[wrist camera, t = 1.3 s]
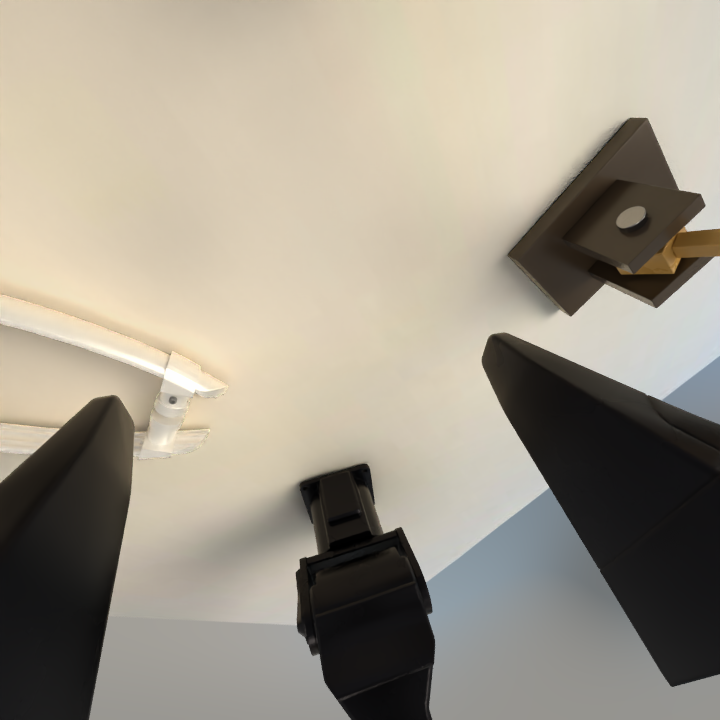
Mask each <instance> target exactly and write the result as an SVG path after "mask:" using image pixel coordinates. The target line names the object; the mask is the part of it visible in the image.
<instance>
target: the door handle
mask: <svg viewBox="0 0 720 720" xmlns="http://www.w3.org/2000/svg"><path fill="white" fill-rule="evenodd" d="M0 324H3V325H6V326H10V327H14V328H18V329H22V330H25V331H29V332H32V333H35V334H39V335H42V336H45V337H48V338H52V339H55V340H58V341H61V342H65V343H68V344H71V345H75V346H78V347H81V348H84V349H87V350H89V351H92V352H95V353H98V354H101V355H104V356H106V357H109V358H112V359H115V360H118V361H120V362H123V363H126V364H129V365H131V366H134V367H136V368H139V369H141V370H143V371H146V372H148V373H151V374H153V375H156V376H158V377H161V378H163V382H162V386H161V389H160V392H159V393H158V395H157V398H156V400H155V403H154V408H153V410H152V412H151V416H150V421H149V422H150V423H149V426H148V429H147V432H134V449H133V457H139V458H138V460H143V459H157V458H170V457H171V455H179V454H186V453H190V452H192V451H194V450H196V449H198V448H199V447H200V446H201V445H202V444H203V443H204V441H205V440H206V438H207V436H208V434H209V431H210V429H198V430H185V431H177V430H178V429H179V428H180V427H181V425H182V423H183V421H184V419H185V414H186V413H187V411H188V408H189V404H190V398H193V395H194V393H196V394H198V395H200V396H202V397H205V398H210V397H214V398H217V397H218V396H220V395H224V394H225V392H226V390H227V388H228V385H227V384H225V383H223V382H221V381H220V380H218V379H216V378H215V377H213V376H211V375H209V374H207V373H205V372H203V371H201V370H200V368H201V366H200V365H198V364H196V363H195V362H193V361H191V360H189V359H187V358H185V357H183V356H182V355H180V354H178V353H176V352H174V351H172V353H171V355H169V354H167V353H165V352H162V351H160V350H158V349H156V348H153V347H151V346H149V345H147V344H144V343H142V342H140V341H138V340H135V339H132V338H130V337H127V336H125V335H122V334H120V333H117V332H115V331H112V330H109V329H107V328H104V327H102V326H99V325H97V324H94V323H91V322H88V321H85V320H82V319H79V318H76V317H73V316H70V315H67V314H64V313H62V312H59V311H56V310H53V309H50V308H47V307H44V306H41V305H37V304H34V303H30V302H27V301H23V300H20V299H17V298H13V297H10V296H6V295H3V294H0ZM58 430H59V429H58V428H47V427H35V426H25V425H17V424H9V423H0V452H5V453H17V454H33V453H34V452H35V451H36V450H37V449H38V448H40V447H41V446H42V445H43V444H44V443H45V442H46V441H47V440H48V439H49V438H51V437H52V436H53V435H54V434H55V433H56V432H57V431H58Z"/></svg>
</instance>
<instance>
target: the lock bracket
mask: <svg viewBox="0 0 720 720" xmlns="http://www.w3.org/2000/svg"><path fill="white" fill-rule="evenodd" d="M704 207H705V203H704V201H703V198H702V196H701V194H697V193H692V192H686V191H681V190H679V189H678V187H677V185H676V182H675V180H674V178H673V175H672V173H671V171H670V169H669V166H668V164H667V162H666V159H665V157H664V155H663V153H662V150H661V148H660V146H659V143H658V141H657V139H656V136H655V134H654V132H653V130H652V127H651V125H650V123H649V120H648V119H647V118H630V119H629V120H628V121H627V122H626V123H625V124H624V125H623V127H622V128H621V129H620V130H619V131H618V132H617V133H616V134H615V136H614V137H613V138H612V139H611V140H610V141H609V142H608V143H607V144H606V146H605V147H604V148H603V149H602V150H601V151H600V152H599V153H598V155H597V156H596V157H595V158H594V159H593V160H592V161H591V162H590V164H589V165H588V166H587V167H586V168H585V169H584V170H583V171H582V172H581V174H580V175H579V176H578V177H577V178H576V179H575V180H574V181H573V183H572V184H571V185H570V186H569V187H568V188H567V189H566V190H565V192H564V193H563V194H562V195H561V196H560V197H559V198H558V199H557V200H556V202H555V203H554V204H553V205H552V206H551V207H550V208H549V209H548V211H547V212H546V213H545V214H544V215H543V216H542V217H541V218H540V219H539V221H538V222H537V223H536V224H535V225H534V226H533V227H532V228H531V230H530V231H529V232H528V233H527V234H526V235H525V236H524V237H523V239H522V240H521V241H520V242H519V243H518V244H517V245H516V246H515V247H514V249H513V250H512V251H511V252H510V253H509V254H508V257H509V258H510V259H511V260H512V261H513V262H514V263H515V264H516V265H517V266H518V267H519V268H520V269H521V270H522V271H523V272H524V273H525V274H526V275H527V276H528V277H529V278H530V279H531V280H532V281H533V282H534V283H535V284H536V285H537V286H538V287H539V289H540V290H541V291H542V292H543V293H544V294H545V295H546V296H547V297H548V298H549V299H550V300H551V301H552V302H553V303H554V304H555V305H556V306H557V307H558V308H559V309H560V310H561V311H563V312H564V313H566V314H567V315H569V316H572V315H573V314H574V313H575V312H576V311H577V310H578V309H579V308H580V307H581V306H582V305H584V304H585V303H586V302H587V301H588V300H589V299H590V298H591V297H592V296H593V295H594V294H595V293H596V292H597V291H598V290H599V289H600V288H601V287H602V286H603V285H604V284H607V285H609V286H611V287H613V288H615V289H617V290H619V291H621V292H623V293H625V294H627V295H630V296H632V297H634V298H636V299H638V300H640V301H642V302H644V303H646V304H648V305H651V306H653V307H655V308H658V307H659V306H660V305H661V304H662V303H663V302H664V301H666V300H667V299H668V298H669V297H670V296H671V295H672V294H673V293H674V292H676V291H677V290H678V289H679V288H680V287H681V286H682V285H683V284H685V283H686V282H687V281H688V280H689V279H690V278H691V277H692V276H693V275H695V274H696V273H697V272H698V271H699V270H700V269H701V268H702V267H703V266H705V265H706V264H707V263H708V262H709V261H710V260H711V259H712V258H714V257H715V256H713V257H689V258H681V259H680V261H679V264H678V266H677V268H676V270H675V273H674V274H635V273H636V272H637V271H638V270H639V269H640V268H641V267H642V266H643V265H644V264H645V263H646V262H648V261H649V260H650V259H651V258H652V257H653V256H654V255H655V254H656V253H657V252H658V251H659V250H660V249H661V248H662V247H663V246H664V245H665V244H666V243H667V242H669V241H670V240H671V239H672V238H673V237H674V236H675V235H676V234H677V233H678V232H679V231H680V230H681V229H682V228H683V227H684V226H685V225H686V224H687V223H688V222H690V221H691V220H692V219H693V218H694V217H695V216H696V215H697V214H698V213H699V212H700V211H701V210H702V209H703V208H704ZM616 267H618V268H620V269H622V270H625V271H627V272H630V273H632V274H620V272H619V271H618V269H617V268H616Z"/></svg>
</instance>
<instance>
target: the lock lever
mask: <svg viewBox="0 0 720 720" xmlns="http://www.w3.org/2000/svg"><path fill="white" fill-rule="evenodd" d="M713 256H720V229H712V230H701V231H690V232H687V231H686V229H685V227H683V228H682V229H681V230H680V231H679V232H678V233H677V234H676V235H675V236H674V237H673V238H672V239H671V240H670V241H669V242H667V243H666V244H665V245H664V246H663V247H662V248H661V249H660V250H659V251H658V252H657V253H656V254H655V255H654V256H653V257H652V258H651V259H650V260H649V261H648V262H646V263H645V264H644V265H643V266H642V267H641V268H640V269H639V270H638V271H637V272H636V273H635V274H674V273H675V270H676V268H677V266H678V264H679V261H680V259H681V258H689V257H713ZM616 268H617V269H618V271H619V272H620V274H632V273H630V272H627V271H625V270H622V269H620V268H618V267H616Z"/></svg>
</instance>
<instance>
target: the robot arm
mask: <svg viewBox="0 0 720 720" xmlns="http://www.w3.org/2000/svg"><path fill="white" fill-rule="evenodd" d="M482 365H483V368H484V370H485V372H486V374H487V377H488V379H489V381H490V383H491V385H492V387H493V389H494V392H495V394H496V396H497V398H498V400H499V402H500V404H501V406H502V408H503V410H504V412H505V414H506V416H507V418H508V419H509V421H510V423H511V424H512V426H513V428H514V429H515V431H516V433H517V434H518V436H519V438H520V439H521V441H522V443H523V444H524V446H525V448H526V449H527V451H528V452H529V454H530V456H531V457H532V459H533V461H534V462H535V464H536V466H537V467H538V469H539V471H540V472H541V474H542V476H543V477H544V479H545V481H546V482H547V484H548V486H549V487H550V489H551V490H552V492H553V494H554V495H555V497H556V499H557V500H558V502H559V504H560V505H561V507H562V508H563V510H564V512H565V514H566V515H567V517H568V518H569V520H570V522H571V524H572V525H573V527H574V528H575V530H576V532H577V533H578V535H579V537H580V538H581V540H582V542H583V543H584V545H585V547H586V548H587V550H588V551H589V553H590V555H591V557H592V558H593V560H594V561H595V563H596V565H597V567H598V568H599V569H600V572H601V574H602V575H603V577H604V578H605V580H606V582H607V583H608V585H609V587H610V588H611V590H612V592H613V593H614V595H615V596H616V598H617V600H618V601H619V603H620V605H621V607H622V608H623V610H624V612H625V613H626V615H627V616H628V618H629V620H630V621H631V623H632V625H633V626H634V628H635V629H636V631H637V633H638V635H639V636H640V638H641V640H642V641H643V643H644V645H645V646H646V648H647V650H648V651H649V653H650V655H651V656H652V658H653V659H654V661H655V663H656V664H657V666H658V668H659V669H660V671H661V673H662V674H663V676H664V677H665V679H666V680H667V681H668V683H669V684H670V686H672V687H674V686H677V685H681V684H685V683H689V682H692V681H696V680H700V679H704V678H707V677H711V676H714V675H718V674H720V425H719V424H717V423H714V422H712V421H709V420H706V419H704V418H702V417H699V416H696V415H694V414H691V413H689V412H687V411H684V410H682V409H680V408H677V407H675V406H672V405H670V404H668V403H665V402H663V401H661V400H659V399H656V398H654V397H652V396H649V395H648V396H647V395H646V394H645V393H643V392H640V391H638V390H636V389H633V388H631V387H629V386H627V385H624V384H622V383H620V382H617V381H615V380H613V379H611V378H608V377H606V376H604V375H601V374H599V373H597V372H595V371H592V370H590V369H588V368H585V367H583V366H581V365H579V364H576V363H574V362H572V361H569V360H567V359H565V358H563V357H560V356H558V355H556V354H554V353H551V352H549V351H547V350H544V349H542V348H540V347H538V346H535V345H533V344H531V343H528V342H526V341H524V340H522V339H519V338H517V337H515V336H512V335H510V334H508V333H498V334H492V335H491V336H490V337H489V338H488V340H487V343H486V347H485V350H484V353H483V356H482ZM133 449H134V422H133V420H132V418H131V416H130V415H129V413H128V411H127V410H126V408H125V406H124V405H123V403H122V401H121V400H120V399H119V397H117V396H115V395H111V396H104V397H98V398H95V399H93V400H91V401H90V402H89V403H88V404H87V405H86V406H85V407H83V408H82V409H81V410H80V411H79V412H78V413H77V414H76V415H75V416H74V417H72V418H71V419H70V420H69V421H68V422H67V423H66V424H65V425H64V426H63V427H61V428H60V429H59V430H58V431H57V432H56V433H55V434H54V435H53V436H52V437H51V438H49V439H48V440H47V441H46V442H45V443H44V444H43V445H42V446H41V447H40V448H38V449H37V450H36V451H35V452H34V453H33V454H32V455H31V456H30V457H29V458H27V459H26V460H25V461H24V462H23V463H22V464H21V465H20V466H19V467H18V468H16V469H15V470H14V471H13V472H12V473H11V474H10V475H9V476H8V477H7V478H5V479H4V480H3V481H2V482H1V483H0V720H89V716H90V711H91V705H92V700H93V695H94V689H95V684H96V679H97V673H98V668H99V662H100V657H101V652H102V647H103V640H104V636H105V630H106V625H107V620H108V614H109V609H110V604H111V598H112V593H113V587H114V582H115V577H116V571H117V566H118V561H119V555H120V550H121V545H122V539H123V534H124V528H125V523H126V518H127V512H128V507H129V501H130V495H131V484H132V467H133ZM300 491H301V494H302V497H303V500H304V502H305V505H306V508H307V511H308V514H309V517H310V520H311V522H312V524H313V525H314V531H315V537H316V543H317V549H318V555H315V556H312V557H309V558H306V557H305V558H302V559H300V569H299V570H298V571H297V572H296V581H297V590H298V606H297V629H298V632H299V633H300V634H301V635H302V636H304V637H305V638H306V641H307V644H309V648H310V651H311V654H312V655H313V656H314V655H317V654H320V659H321V665H322V671H323V676H324V681H325V683H326V685H327V686H328V688H329V689H330V691H331V692H332V693H333V695H334V696H335V698H336V699H337V700H338V702H339V703H340V704H341V706H342V707H343V709H344V710H345V711H346V713H347V714H348V716H349V717H350V718H351V720H432V718H431V714H430V711H429V700H430V690H431V680H432V669H433V664H434V654H435V639H434V635H433V632H432V629H431V625H430V622H429V619H428V616H427V615H428V614H431V613H432V604H431V599H430V595H429V592H428V588H427V585H426V582H425V579H424V576H423V574H422V571H421V569H420V566H419V564H418V562H417V560H416V558H415V556H414V553H413V551H412V549H411V547H410V545H409V543H408V540H407V538H406V536H405V534H404V532H403V530H402V528H401V527H400V528H396V529H395V530H394V531H391V532H388V533H385V534H383V531H382V528H381V525H380V522H379V519H378V516H377V513H376V510H375V507H374V504H375V502H374V495H373V488H372V480H371V473H370V468H369V466H368V465H367V464H363V465H359V466H356V467H352V468H349V469H345V470H342V471H338V472H335V473H332V474H328V475H325V476H321V477H318V478H314V479H311V480H308V481H304V482H302V483H301V484H300Z"/></svg>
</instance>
